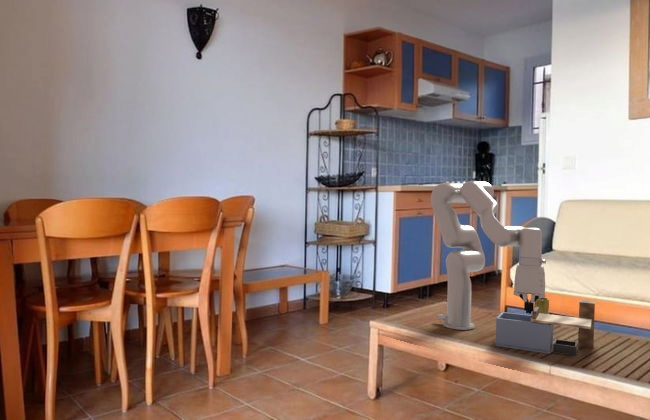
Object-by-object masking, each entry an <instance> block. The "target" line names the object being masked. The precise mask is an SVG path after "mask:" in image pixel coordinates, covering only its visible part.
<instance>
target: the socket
mask: <svg viewBox="0 0 650 420" xmlns="http://www.w3.org/2000/svg"><path fill="white" fill-rule="evenodd" d="M552 349H553V351H552V353H553V354H555V353H556V354H561V355H570V356H575V357H576V356H577V354H578V353H577V352H578V341H573V340H565V339H558V338H557V339H556V338H555V339H554V340H553V346H552Z"/></svg>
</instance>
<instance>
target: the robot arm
mask: <svg viewBox="0 0 650 420" xmlns="http://www.w3.org/2000/svg"><path fill="white" fill-rule="evenodd" d="M431 191H432V192H431V194H430V204H431V208H432V210H433V213H434V215H435V217H436V218H435V219H436V220H437V225H438V228H439V231H440V234H441V238H442V242H443V243H444V245H445V246H446V247H447V248H452V249H455V250H453V251H450V252H449V253H448V254H447V256H446V257H445V268H446V273H447V274H446V275H447V299H446V300H447V302H446V304H447V305H446V313H445V314H441V313H437V314H436V319H438V320H441V321H442V320H443V322H442V327H445V328H447V329H452V330H459V331H460V330H461V331H469V330H473V329H474V328H475V324H474V323H473V322H472V321H471V320H472V319H471V318H472V316H471V315H472V280H471V278H470V275H469V273H476V272H479V271H482V270H483V269H484V268H485V265H486V257H485V253H484V250H483V247H482V243H481V240H480V237H479V234H478V232H477V230H476V229H475V228H474V227H473V226H471V225H467V224H461V223H460V220H459V217H458V214H457V212H456V210H455V209H454V208H453V207H452V205H451V204H467V205H468V206H469V207H470V208H471V209H472V210H473V211H474V213H475V214H476V215H477V216H478V217H479V221H480V226H481V229H482V231H483V233H484V234H485V235H486V237H487V238H488V239H489V240H490V241H491V242H492V243H493V244H494V245H496V246H498V247H502V248H505V247H507V248H508V247H519V248H518V249H519V250H518V253H519V254H518V264H517V265H516V269H515V274H514V283H513V289H514V291H513V293H512V294H513V295H514V296H516V297H520V299H521V300H522V301H523V302H524V303H523V306H524V308H523V311H525V314H528V315H531V314H532V312H533V310H534V302H535V301H536V300H537V299H539V298H546V293H545V292H546V273H545V268H544V266H543V265H544V264H546V265H547V260H546V259H543V257H542V252H543V251H542V250H543V248H542V247H543V231H542V230H541V228H538V227H524V226H520V225H519V226H518V225H517V226H516V225H513V226H512V225H503V224H502V223H501V222H500V221H499V220H498V219H497V217H496V213H497V212H498V210H499V203H498V202H497V201H496V200H495V199H494V194H495V191H494V187H493V186H492V184H490V183H489V182H487V181H484V180H483V181H481V180H480V181H479V180H478V181H477V180H469V181H466V182H464V183H460V182H459V183H458V182H457V183H456V182H442V183H439V184H436V186H435V187H434V188H433V189H432V190H431ZM456 248H459V249H456ZM460 248H461V249H460ZM528 295H530V296H531V297H530V299H529V298H528Z"/></svg>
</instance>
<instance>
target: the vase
mask: <svg viewBox="0 0 650 420" xmlns="http://www.w3.org/2000/svg"><path fill="white" fill-rule="evenodd" d="M535 307H539V313H542V314H550V299H549V298H548V297H545V298H539V299H537V300H536V301H535V302H534V309H535Z"/></svg>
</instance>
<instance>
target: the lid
mask: <svg viewBox="0 0 650 420" xmlns="http://www.w3.org/2000/svg"><path fill="white" fill-rule="evenodd" d="M531 314H532V318H531V322H537V323H545V324H553V326H563V327H572V328H578V329H579V328H586V329H591V321H592V319H585V318H579V317H576V316H574V317H573V316H567V315H566V316H565V315H558V314H550V313H549V314H542V313H539V307H535V309H534V310H533V311H532V313H531Z"/></svg>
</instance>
